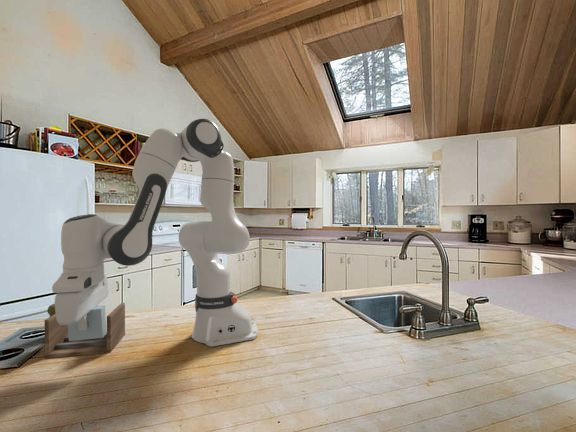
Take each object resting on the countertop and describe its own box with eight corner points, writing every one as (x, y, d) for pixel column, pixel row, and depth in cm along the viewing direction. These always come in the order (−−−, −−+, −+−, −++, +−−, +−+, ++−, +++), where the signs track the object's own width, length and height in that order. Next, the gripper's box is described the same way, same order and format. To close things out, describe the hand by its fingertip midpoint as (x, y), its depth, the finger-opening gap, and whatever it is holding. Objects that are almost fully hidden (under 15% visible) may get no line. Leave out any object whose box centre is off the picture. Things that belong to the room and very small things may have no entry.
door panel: (106, 333, 78) (105, 305, 78) (102, 337, 76) (101, 308, 75) (73, 336, 76) (72, 308, 76) (68, 341, 74) (66, 311, 73)
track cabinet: (125, 334, 96) (124, 302, 96) (110, 352, 84) (110, 316, 84) (68, 338, 92) (67, 305, 92) (44, 358, 81) (44, 320, 80)
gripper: (89, 266, 84) (92, 311, 85) (47, 288, 64) (51, 346, 65) (113, 265, 86) (115, 309, 87) (78, 286, 66) (82, 343, 67)
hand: (87, 325), depth 76 cm, fingers closed on door panel, 2 cm apart
